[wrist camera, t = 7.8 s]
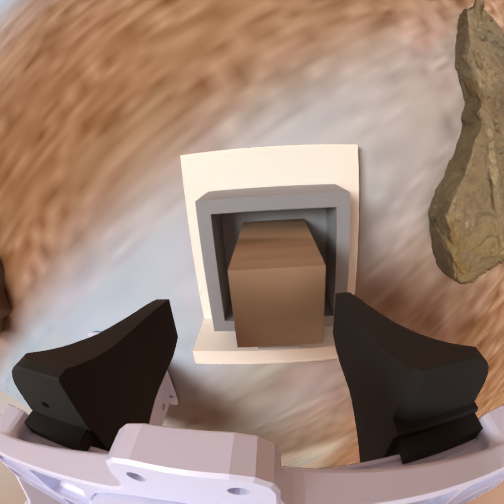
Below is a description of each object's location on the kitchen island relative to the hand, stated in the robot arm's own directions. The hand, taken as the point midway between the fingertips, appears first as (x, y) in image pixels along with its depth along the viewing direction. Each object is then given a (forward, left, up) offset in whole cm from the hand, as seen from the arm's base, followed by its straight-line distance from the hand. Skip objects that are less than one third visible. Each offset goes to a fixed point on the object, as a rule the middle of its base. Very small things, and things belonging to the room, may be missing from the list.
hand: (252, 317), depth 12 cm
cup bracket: (0, -1, -10) cm, 10 cm away
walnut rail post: (0, -1, -8) cm, 8 cm away
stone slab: (+9, -21, -10) cm, 25 cm away
